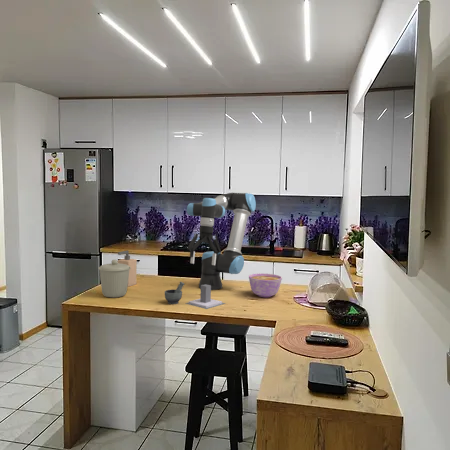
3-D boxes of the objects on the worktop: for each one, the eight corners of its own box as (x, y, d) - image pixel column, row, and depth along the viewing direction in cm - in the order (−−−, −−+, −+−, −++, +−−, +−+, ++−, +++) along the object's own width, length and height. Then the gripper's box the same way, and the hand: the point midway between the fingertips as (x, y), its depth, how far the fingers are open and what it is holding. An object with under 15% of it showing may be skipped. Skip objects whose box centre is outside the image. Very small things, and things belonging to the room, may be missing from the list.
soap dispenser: (125, 282, 294) (126, 249, 292) (136, 284, 290) (136, 250, 288) (113, 286, 282) (113, 251, 280) (124, 288, 278) (124, 253, 277)
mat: (204, 299, 257) (204, 298, 257) (225, 304, 247) (225, 303, 247) (184, 304, 244) (184, 303, 244) (206, 310, 234) (206, 309, 234)
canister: (92, 295, 259) (92, 259, 257) (118, 290, 272) (119, 256, 270) (109, 301, 246) (109, 263, 245) (136, 296, 260) (137, 260, 258)
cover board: (204, 299, 255) (204, 281, 254) (222, 303, 246) (222, 285, 246) (188, 303, 245) (189, 285, 244) (206, 307, 236) (206, 289, 236)
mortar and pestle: (167, 306, 239) (167, 284, 237) (161, 302, 247) (162, 281, 246) (187, 305, 243) (187, 283, 242) (180, 300, 252) (181, 279, 251)
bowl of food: (287, 296, 269) (288, 277, 268) (267, 301, 255) (268, 281, 254) (261, 290, 283) (262, 272, 282) (241, 295, 268) (241, 276, 267)
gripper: (190, 223, 238) (186, 263, 237) (229, 228, 252) (225, 266, 251) (183, 223, 245) (179, 262, 244) (222, 228, 258) (218, 265, 257)
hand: (202, 264), depth 247 cm, fingers open, 13 cm apart
